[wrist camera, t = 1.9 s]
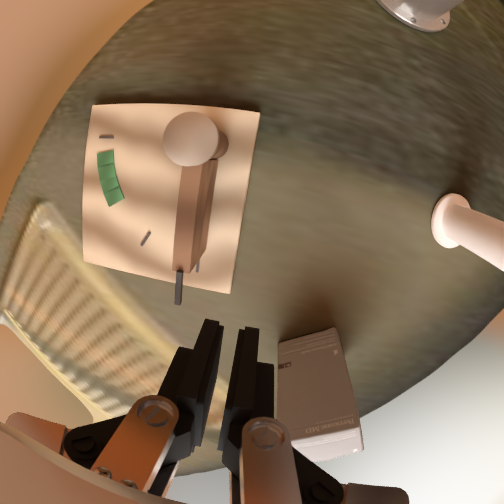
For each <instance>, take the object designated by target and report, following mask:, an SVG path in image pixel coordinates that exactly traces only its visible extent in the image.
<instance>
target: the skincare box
mask: <svg viewBox="0 0 504 504" xmlns="http://www.w3.org/2000/svg"><path fill="white" fill-rule="evenodd" d="M277 420H278V421H280V422H281V423H283V424H284V425H285V426H286V428H287V429H288V431H289V434H290V438H291V444H292V446H293V447H294V448H295V449H296V450H298V451H299V452H300V453H301V454H303V455H304V456H305V457H306V458H308V459H309V460H310V461H312V462H314V461H327V460H331V459H334V458H336V457H340V456H345V455H349V454H353V453H357V452H361V451H363V450H364V445H363V438H362V431H361V425H360V419H359V414H358V409H357V405H356V401H355V397H354V393H353V389H352V385H351V381H350V377H349V373H348V369H347V365H346V361H345V357H344V354H343V350H342V346H341V343H340V339H339V335H338V332H337V329H336V328H335V327H333V328H330V329H328V330H325V331H322V332H317V333H314V334H310V335H306V336H303V337H299V338H295V339H292V340H288V341H285V342H281V343H279V344H278V390H277Z"/></svg>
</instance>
